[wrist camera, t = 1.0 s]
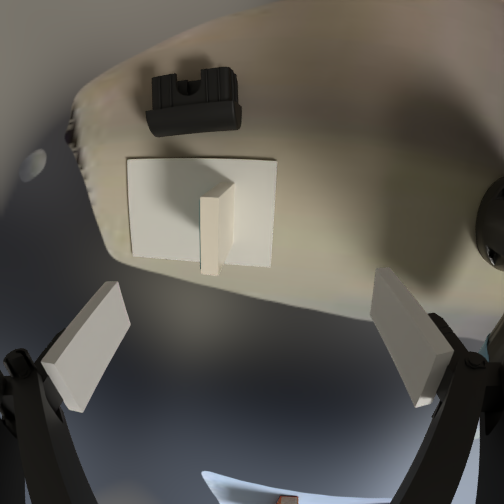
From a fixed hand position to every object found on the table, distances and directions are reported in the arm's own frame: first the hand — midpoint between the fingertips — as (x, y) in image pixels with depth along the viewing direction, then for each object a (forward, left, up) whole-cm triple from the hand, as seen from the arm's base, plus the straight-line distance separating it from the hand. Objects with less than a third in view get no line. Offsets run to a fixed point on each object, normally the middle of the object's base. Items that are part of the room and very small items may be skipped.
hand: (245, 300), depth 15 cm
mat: (+9, +2, -26) cm, 27 cm away
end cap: (+9, -12, -26) cm, 30 cm away
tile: (+5, +2, -20) cm, 21 cm away
